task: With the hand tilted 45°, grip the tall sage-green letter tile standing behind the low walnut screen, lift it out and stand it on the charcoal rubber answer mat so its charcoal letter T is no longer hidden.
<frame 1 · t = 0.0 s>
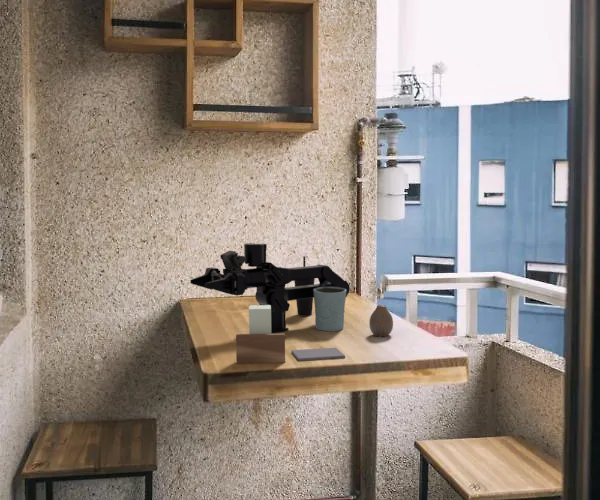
hand: (198, 283, 189), 17 cm above the table, tool horizontal, fingers open, 9 cm apart
drinking cup: (304, 315, 230), on the table
vase: (381, 335, 197), on the table
walnut screen: (260, 362, 167), on the table
answer mat: (317, 355, 174), on the table
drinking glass: (329, 328, 207), on the table, touching arm
letter tile: (260, 357, 172), on the table
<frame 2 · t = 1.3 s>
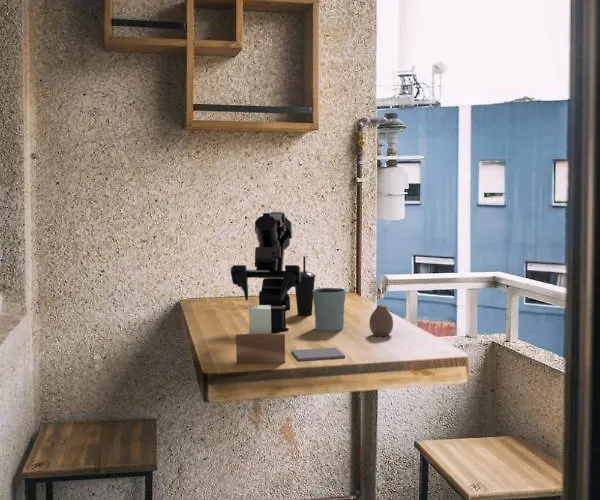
hand: (263, 299, 179), 14 cm above the table, tool tilted 45°, fingers open, 9 cm apart
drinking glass: (329, 329, 207), on the table
everything else where it was.
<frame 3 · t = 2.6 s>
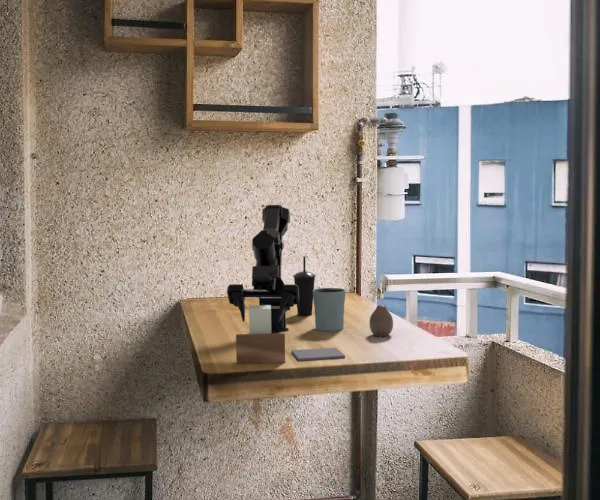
hand: (260, 320, 173), 9 cm above the table, tool tilted 45°, fingers open, 9 cm apart
nothing on the table moved.
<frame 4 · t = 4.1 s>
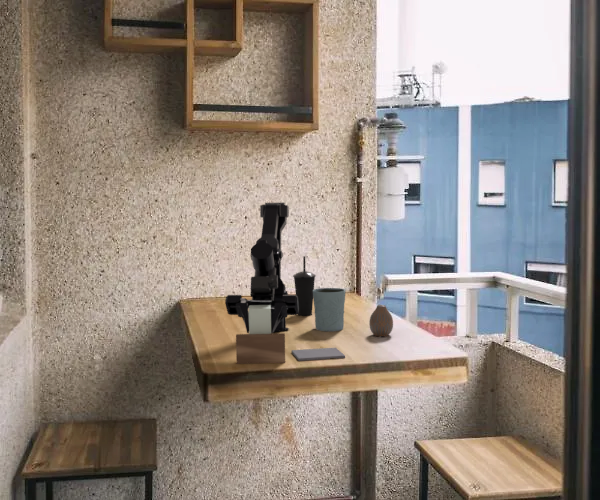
hand: (259, 332, 170), 7 cm above the table, tool tilted 45°, fingers closed on letter tile, 6 cm apart
letter tile: (260, 357, 172), on the table, touching gripper
everything else where it was.
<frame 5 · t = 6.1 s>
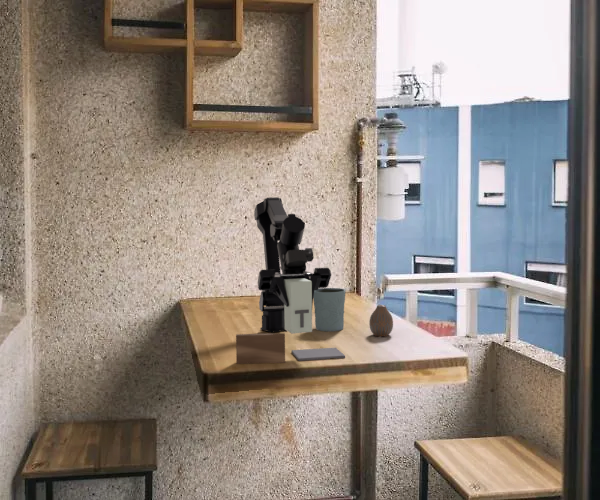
hand: (299, 305, 170), 13 cm above the table, tool tilted 45°, fingers closed on letter tile, 6 cm apart
letter tile: (298, 330, 172), point 7 cm above the table, touching gripper
everything else where it was.
when the fingers open (8 cm above the table, at t = 8.2 s): letter tile stays where it is, resting on answer mat.
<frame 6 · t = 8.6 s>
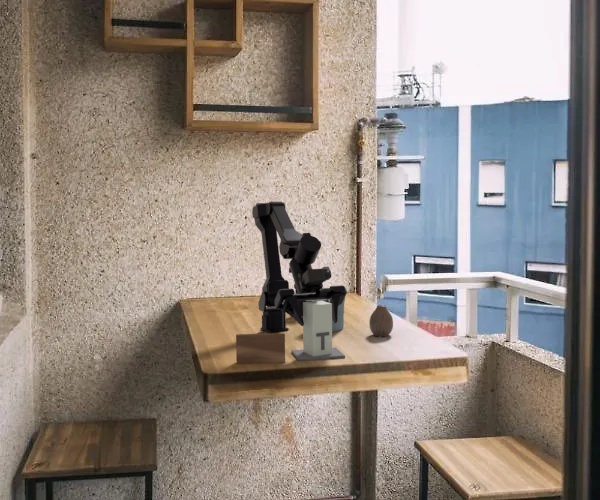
hand: (319, 323, 172), 8 cm above the table, tool tilted 45°, fingers open, 9 cm apart
letter tile: (317, 352, 174), point 1 cm above the table, touching answer mat
everything else where it was.
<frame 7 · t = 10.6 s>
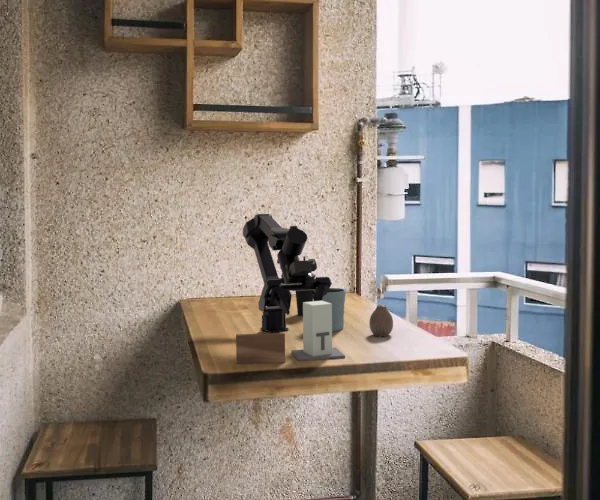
hand: (304, 312, 180), 10 cm above the table, tool tilted 45°, fingers open, 9 cm apart
nothing on the table moved.
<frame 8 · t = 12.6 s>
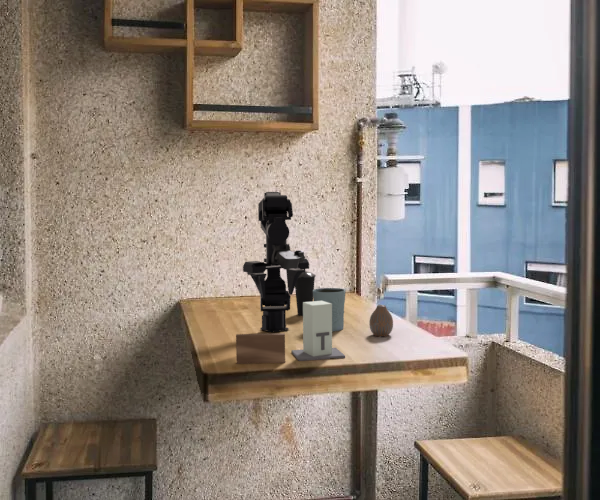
hand: (277, 296, 188), 13 cm above the table, tool pointing down, fingers open, 9 cm apart
nothing on the table moved.
at the end: letter tile inside the target area on the answer mat (0.1 cm from its centre), point 0.6 cm above the answer mat's base; letter tile tilted 0°; the gripper is holding nothing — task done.
